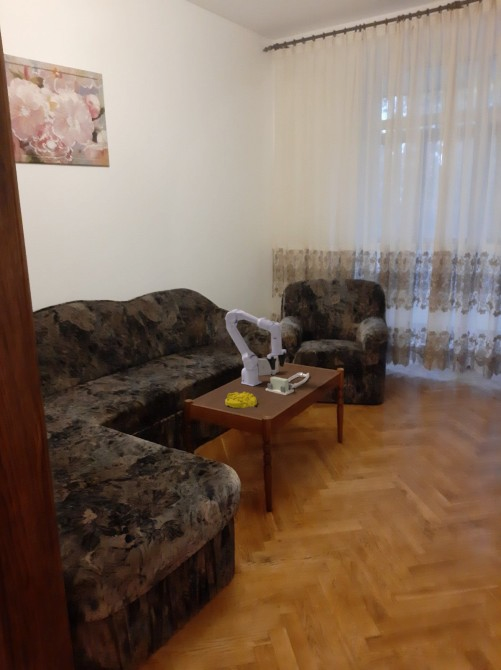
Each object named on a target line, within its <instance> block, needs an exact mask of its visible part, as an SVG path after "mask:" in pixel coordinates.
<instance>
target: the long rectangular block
mask: <svg viewBox="0 0 501 670" xmlns="http://www.w3.org/2000/svg"><path fill="white" fill-rule="evenodd" d="M269 379H270V381H269V382H270V384H272V389H276V390H280V391H281V386H283V387H285V392H286V391H288V390H289V386H288V383H289V382H288V379H289V378H283V377H278V376H271V377H270V378H269Z"/></svg>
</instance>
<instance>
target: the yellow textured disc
mask: <svg viewBox="0 0 501 670" xmlns="http://www.w3.org/2000/svg"><path fill="white" fill-rule="evenodd" d="M224 402H225V406H226V407H227V406H229V407H230V408H233V409H234V408H235V409H245V408H248V407H249V408H250V407H256V405H258V400H257V397H256V396H255V395H254V394H253V393H250V392H246V391H243V392H240V393H239V392H238V391H235V392H232V393H231V392H229V393H228V394H227V395H226V399H224Z"/></svg>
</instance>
